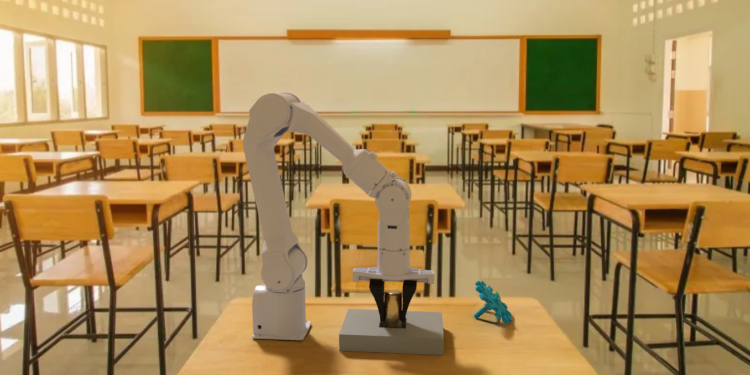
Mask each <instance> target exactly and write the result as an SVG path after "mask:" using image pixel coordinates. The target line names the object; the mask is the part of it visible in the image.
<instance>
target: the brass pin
mask: <svg viewBox="0 0 750 375" xmlns="http://www.w3.org/2000/svg"><path fill="white" fill-rule="evenodd" d="M402 303H403V297H402V291H401V290H397V289H390V290H389V289H388V290H384V328H402V322H401V315H402Z"/></svg>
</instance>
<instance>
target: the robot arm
mask: <svg viewBox="0 0 750 375" xmlns="http://www.w3.org/2000/svg"><path fill="white" fill-rule="evenodd" d="M248 113H249V119H248V122H247V126H246V129H245V132H244V136H243V139H242V148H243V152H244V157H245V162H246V166H247V172H248V174H249V179H250V183H251V188H252V192H253V196H254V201H255V205H256V209H257V213H258V218H259V222H260V227H261V231H262V235H263V239H264V240H263V245H262V249H261V259H262V266H261V272H260V276H261V280H262V283H263V284H258V285H256V286H255V288H254V290H253V295H252V300H251V301H252V304H251V308H252V309H251V310H252V335H251V337H252V339H255V340H256V339H258V340H260V339H261V340H281V341H282V340H283V341H285V340H286V341H287V340H288V341H303V340H304V339H305V337H306V335H307V333H308V331H309V329H310V327H311V325H312V322H311V321H310V320H306V319H307V318H306V314H307V313H306V282H305V279H304V278H303V274H304V273H305V271H306V269H308V268H307V267H308V262H309V261H308V257H307V256H308V255H307V254H306V252H305V251H304V249H303V248H302V247H301V244H300V242H299V238H298V237H297V235H296V234H295V233H294V232H293V229H292V225H291V224H292V223H291V220H290V215H289V211H288V207H287V202H286V199H285V198H286V197H285V193H284V189H283V184H282V180H281V176H280V170H279V167H278V163H277V157H276V154H275V153H276V152H275V147H276V146H277V144H278V143H279V141H281V139H282V138H283V136H284V134H285V133H287V132H290V133H297V134H303V135H307V136H309V137H310V138H311V139H312V140H314V141H315V142H317V144H318V145H320V146H321V147H322V148H323V149H325V150H326V151H327V152H329V153H330V154H331V155H332V156H334V157H335V158H336V159H337V160H338V161H340V162H341V164H342V167H343V174H344V175H345V177H347V178H349V180H350V181H352V182H353V183H354V185H356V186H357V187H359V189H360V190H362V191H363V192H364V193H365V194H366V195H368V196H369V198H373V199H374V202H375V205H376V208H377V210H378V221H377V266H373V267H354V268H353V269H352V282H354V283H355V282H356V283H358V282H360V281H363V282H364V281H367V282H368V281H369V285H368V289H369V291H370V293H371V294H372V297H373V299H374V302H375V304H376V306H377V307H376V308H377V310H378V311H379V315H380V321H384V292H385V285H386V282H399V283H400V282H401V283H402V286H401V287H402V289H401V290H402V291H401V292H402V315H401V322H405V319H406V313H407V311H409V310H408V309H409V306H410V305H411V302H412V299H413V297H414V296H415V293H416V291H417V289H418V288H417V287H418V286H417V285H418V283H424V284H425V283H426V284H428V285H434V284H435V270H433V269H431V270H429V269H421V268H414V267H413V268H412V267H410V265H411V264H410V263H411V262H410V259H411V258H410V257H411V256H410V255H411V254H410V253H411V252H410V250H411V221H410V218H411V212H410V205H411V200H412V196H413V195H412V189H411V186H410V185H409V184H408V183H407V181H406V179H404V178H403V177H398V173H397V172H396V171H395V170H392V172H391V170H390V169H389V168H387V167H386V166H385V165H384V164H383V163H382V162H380V160H378V159H377V157H378V154H377V153H376V152H375V151H373V150H372V151H371V152H369V151H368V150H367V149H366V148H364V149H363V148H360V149H359V148H358V149H356V148H354V147H353V146H352V145H351V144H350V143H349V142H348V141H347V140H346V139H344V137H342V136H341V135H340V134H339V133H338V131H336V130H335V129H334V128H333V126H331V125H330V124H329V123H328V122H327V121H326V120H325V119H324V118H323V117H322V116H321V115H320V114H319V113H318V112H317V111H316V110H314V108H312V107H311V106H310V105H309V104H307V103H306V102H304V101H301V100H300V98H299V97H298V96H296V95H295V94H293V93H291V92H282V93H275V92H269V93H268V92H267V93H264V94H263V95H261V96H260V97H259V98H258V99H257V100H256V102H254V104H252V106H251V107H250V108H249V111H248Z"/></svg>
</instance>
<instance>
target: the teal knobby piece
mask: <svg viewBox="0 0 750 375" xmlns="http://www.w3.org/2000/svg"><path fill="white" fill-rule="evenodd" d="M474 285H475V286H476V287H475V291H476V292H478V293H479V294H478V297H479V298H480V300H481V301H483V302H484V303H483V306H482V307H481V308H480V309H479V310H478V311H476V312H475V313H474V314H473V317H474V318H475V319H476V320H477V319H479V318H480V317H481V316H483V314H485V313H486V312H487V311H488V312H490V311H493V312H494V314H493V315H494V316H495V318H496V319H498V320H500V319H501V321H502V322H503V323H504V324H506V325H507V324H510V323H511V322H512V321H514V320H513V318H512V316H513V315H512V313H511V312H510V311H509V310H508V309H509V308H508V305H507V304H506V303H505V302H503V301H502V298H501V296H500V293H499V292H498V291H497V290H496V291H495V292H493V291H494V289H493V287H491V285H487V283H485V281H483V280H481V281H480V280H476V282H475V283H474Z"/></svg>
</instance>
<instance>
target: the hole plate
mask: <svg viewBox="0 0 750 375" xmlns="http://www.w3.org/2000/svg"><path fill="white" fill-rule="evenodd" d="M443 322H444V320H443V311H418V310H417V311H416V310H407V313H406V319H405V322H402V328H384V321H380V315H379V311H378V309H368V308H367V309H366V308H359V309H358V308H348V309H347V312H346V313H345V317H344V320H343V322H342V324H341V329H340V331H339V332H338V333H339V334H338V350H339V352H340V351H342V352H361V353H362V352H363V353H365V352H367V353H387V354H405V355H406V354H409V355H410V354H411V355H431V356H432V355H433V356H434V355H435V356H444V346H445V345H444V344H445V341H444V340H445V338H444V323H443Z"/></svg>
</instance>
